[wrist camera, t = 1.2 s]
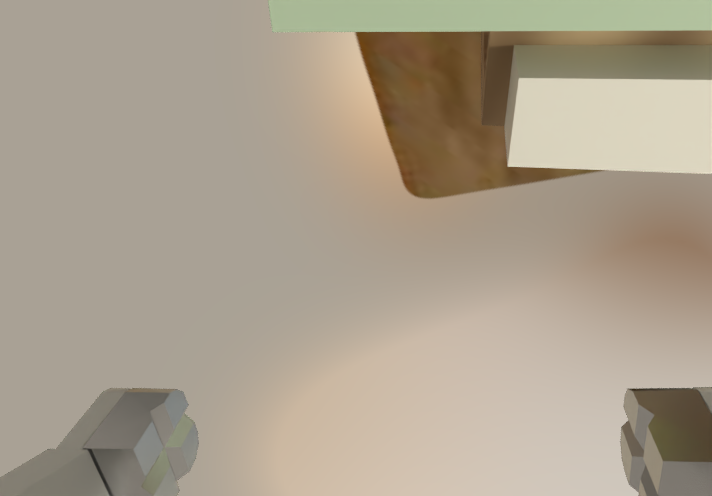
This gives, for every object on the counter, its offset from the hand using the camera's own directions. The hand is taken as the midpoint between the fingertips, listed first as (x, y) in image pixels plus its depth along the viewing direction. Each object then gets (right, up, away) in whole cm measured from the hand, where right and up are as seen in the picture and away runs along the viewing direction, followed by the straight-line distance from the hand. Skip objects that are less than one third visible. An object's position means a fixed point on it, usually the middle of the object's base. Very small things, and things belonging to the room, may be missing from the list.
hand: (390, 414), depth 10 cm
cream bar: (+12, +10, +12) cm, 20 cm away
